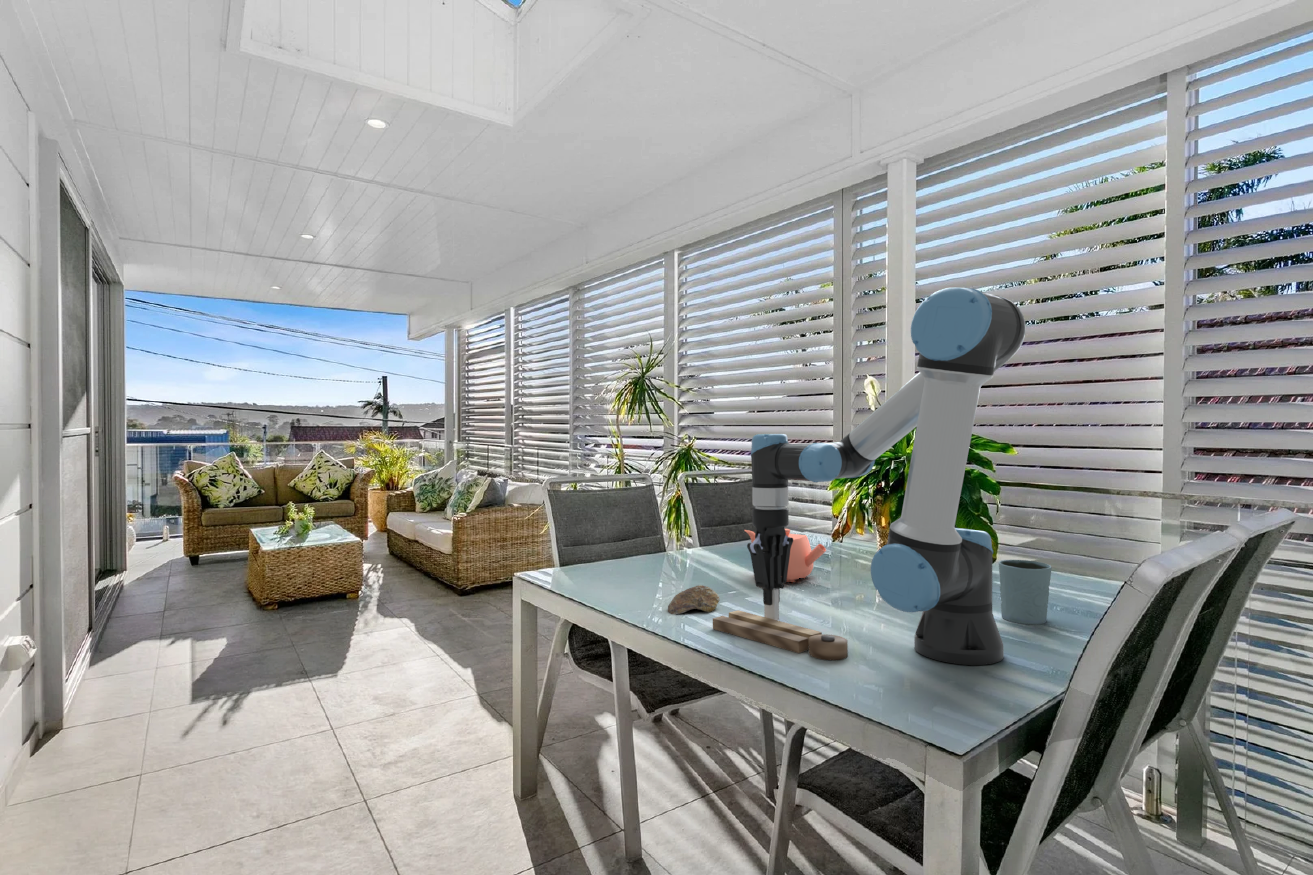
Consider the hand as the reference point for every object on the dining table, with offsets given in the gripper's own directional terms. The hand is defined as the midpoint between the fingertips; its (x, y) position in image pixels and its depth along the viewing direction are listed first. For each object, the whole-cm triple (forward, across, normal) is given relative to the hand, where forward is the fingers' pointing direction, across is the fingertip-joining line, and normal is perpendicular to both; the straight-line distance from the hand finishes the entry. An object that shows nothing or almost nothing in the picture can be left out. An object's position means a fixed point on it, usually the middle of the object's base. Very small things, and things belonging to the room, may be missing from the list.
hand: (771, 619), depth 144 cm
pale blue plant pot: (+2, -44, +35) cm, 56 cm away
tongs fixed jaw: (+2, +6, +6) cm, 9 cm away
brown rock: (+2, +1, -23) cm, 23 cm away
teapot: (+2, -41, -27) cm, 49 cm away
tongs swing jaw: (+2, +3, +3) cm, 5 cm away
